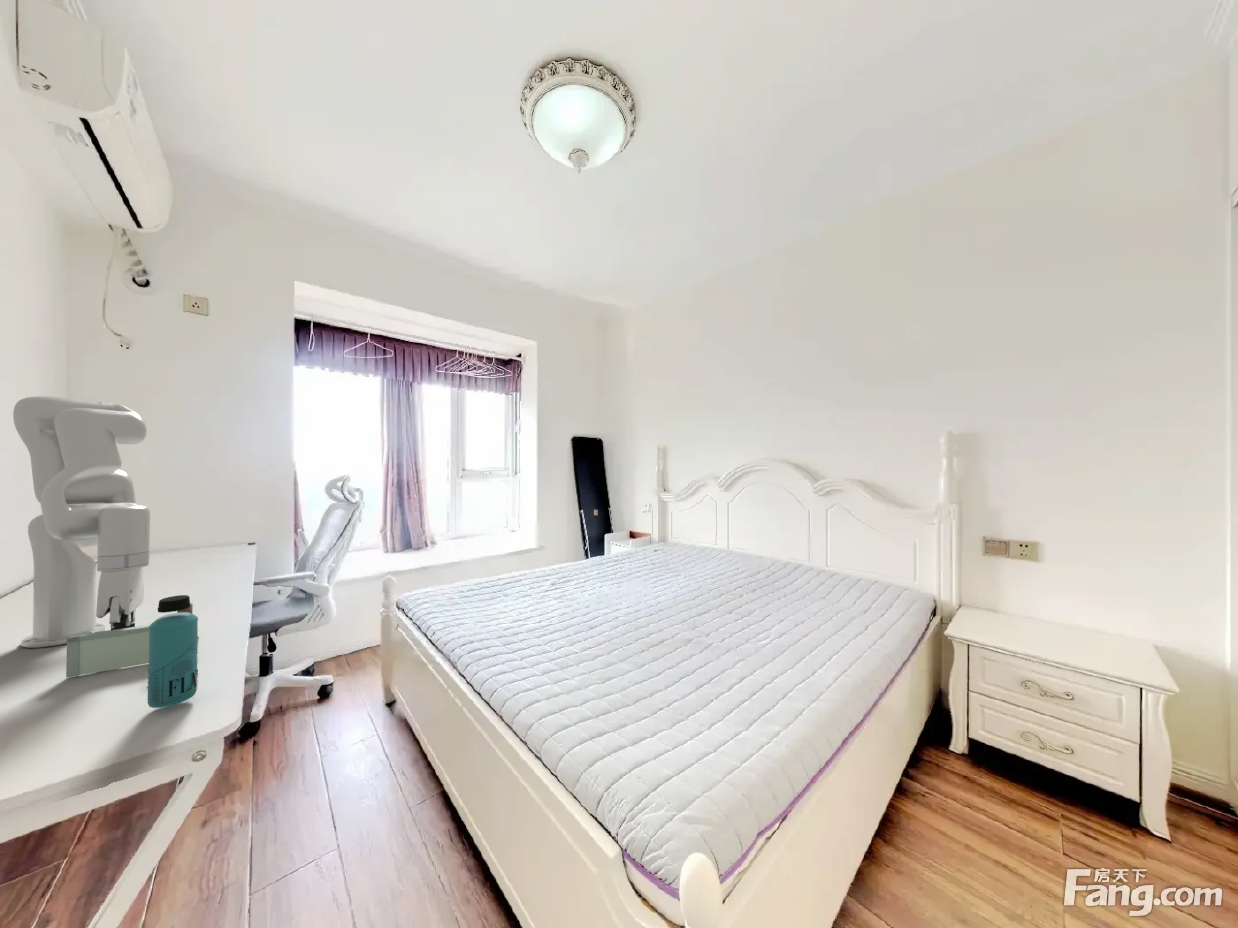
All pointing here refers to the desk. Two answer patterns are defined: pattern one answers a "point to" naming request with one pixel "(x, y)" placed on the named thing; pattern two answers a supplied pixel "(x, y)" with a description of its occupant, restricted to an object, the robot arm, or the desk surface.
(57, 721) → the desk surface
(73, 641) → the panel
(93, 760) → the desk surface
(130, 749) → the desk surface
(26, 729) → the desk surface
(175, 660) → the beverage bottle
